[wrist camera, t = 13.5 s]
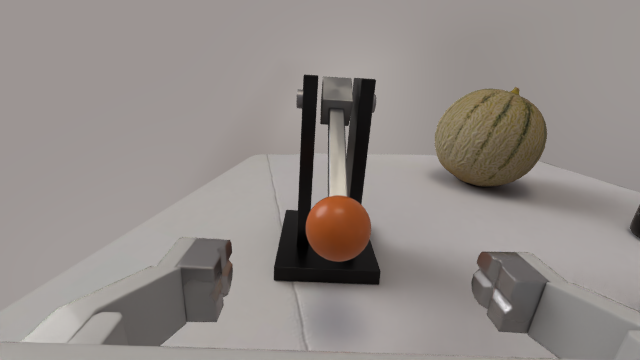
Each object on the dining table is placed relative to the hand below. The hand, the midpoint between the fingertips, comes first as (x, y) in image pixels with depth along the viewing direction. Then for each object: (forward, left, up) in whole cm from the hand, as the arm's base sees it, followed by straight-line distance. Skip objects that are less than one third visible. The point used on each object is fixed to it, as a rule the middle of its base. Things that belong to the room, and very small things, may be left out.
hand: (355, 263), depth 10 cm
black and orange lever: (0, +16, -9) cm, 18 cm away
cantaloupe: (+25, +37, -9) cm, 45 cm away
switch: (0, +12, -1) cm, 12 cm away
